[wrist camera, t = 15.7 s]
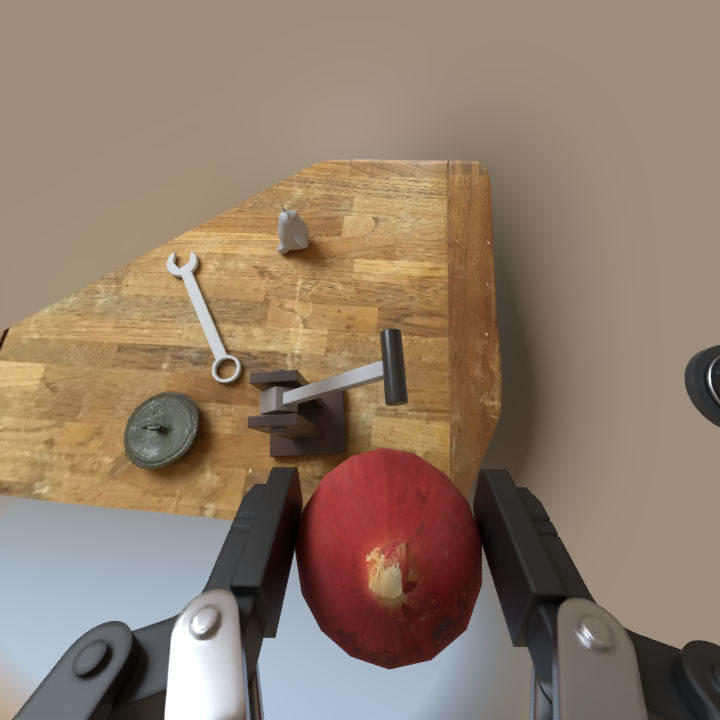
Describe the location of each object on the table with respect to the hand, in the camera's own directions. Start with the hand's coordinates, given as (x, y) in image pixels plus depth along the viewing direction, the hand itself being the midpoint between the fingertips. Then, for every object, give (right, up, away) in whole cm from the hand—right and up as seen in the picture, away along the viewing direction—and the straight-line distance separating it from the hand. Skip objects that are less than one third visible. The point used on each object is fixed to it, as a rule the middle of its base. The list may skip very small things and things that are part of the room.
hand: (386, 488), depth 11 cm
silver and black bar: (-3, +2, +17) cm, 17 cm away
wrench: (-25, +11, +41) cm, 49 cm away
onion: (0, -3, +4) cm, 5 cm away
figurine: (-12, +23, +44) cm, 51 cm away
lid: (-28, -6, +36) cm, 45 cm away
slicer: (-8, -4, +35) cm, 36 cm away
